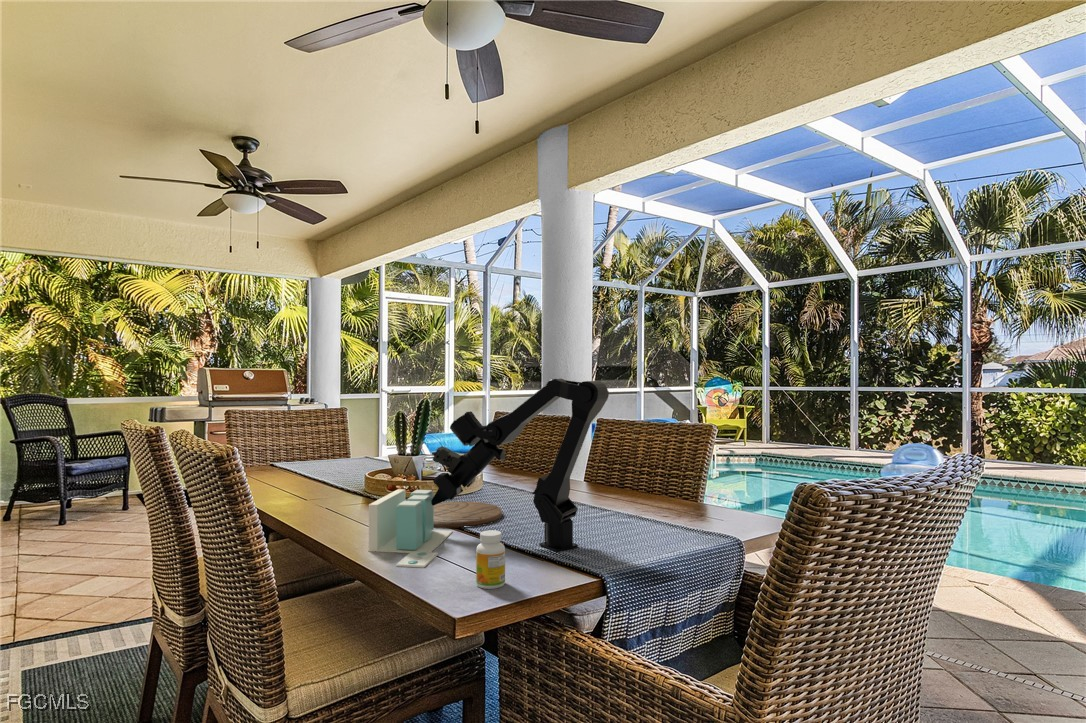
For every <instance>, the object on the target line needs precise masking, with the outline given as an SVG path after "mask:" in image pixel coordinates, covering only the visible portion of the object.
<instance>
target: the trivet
mask: <svg viewBox="0 0 1086 723" xmlns="http://www.w3.org/2000/svg"><path fill="white" fill-rule="evenodd" d="M502 513H503V511H502V509H501V507H499V506H498V505H495V504H492V503H487V502H481V501H443V502H441V503H438V504H436V505H434V529H460V528H459V527H464V526H475V527H479V526H478V525H481V526H484V525H483V524H486V525H489V524H492V523H491V522H493V523H495V522H497V521H499V520H500V519H501V518H502V517H503V516H502V515H503V514H502ZM501 516H502V517H501ZM498 519H499V520H498ZM496 520H497V521H496Z"/></svg>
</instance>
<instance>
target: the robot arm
mask: <svg viewBox="0 0 1086 723" xmlns="http://www.w3.org/2000/svg"><path fill="white" fill-rule="evenodd" d="M609 395H610V393H609V388H608V387H607V385H606V384H605V383H604V382H602V381H600V380H587V381H582V382H581V381H574V380H567V379H564V378H551V379H549V380H548V381H547V383H546V384H545V385H544V386H543V387H541V388H540V389H538V390H537V391H536V392H535V393H534V394H533V395H531V396H530V397H529V398H527V399H526V400H525V401H524V402H522V403H521V404H520V405H518V406H517V407H516V408H515V409H514V410H513V411H511V412H509V413H507V414H505V415H502V416H499V417H498V418H495V419H494V420H492V421H491V422H489V423H488V424H487V425H483V424H482V423H481V422H480V420H479V419H478V418H477V417H476V415H475V414H474V413H473V411H466V412H465V413H464V414H462V415H461V416H459V417H458V418H456V419H455V420H453V421H452V423H451V424H450V426H449V429H450V430H451V432H452V433H453V434H454V435H455V437H456V438H457V439H458V441H459V442H460V443H461V444H462V445H463V446H465V447H466V446H469V447H471V448H470V449H469V450H468V451H467V452H465V453H464V454H462V455H460V454H459V453H457V452H456V451H453V450H451V449H450V448H447V447H445V446H443V445H442V446H439V447H437V448H436V451H435V452H433V456H432V457H433V458H432V461H433V462H435V463H438V464H441V465H442V466H445V467H447V468H446V470H447V472H441V473H440V474H438V475H437V476H436V477H435V478H433V480H432V481H433V484H435V486H436V487H438V489H437V491H436V493H434V497H433V499H432V500H431V504H432V505H433V506H434V505H436V504H438V503H442V502H447V500H450V501H452V500H453V499H455V498H456V497H457V496H459V495H460V494H461V493H463V492H464V489H463V488H469V487H470V486H472V485H473V484H474V483H475V482H476V478H477V477H478V476H479V475H480V474H481V473H482V472H483V471H484V469H485V468H486V467H487V466H489V464H491V462H493V460H494V459H495V458H496V459H497V461H506V449H505V448H500V447H499V446H502V445H506V444H510V443H512V442H514V441H515V440H516V439H517V438H518V436H519V435H520V434H522V433H523V430H524V428H525V427H526V425H527V424H528V423H529V422H531V421H532V420H533V419H534V418H535V417H537V416H538V415H540V414H541V413H542V412H543V411H545V410H546V409H547V408H548V407H550V406H551V405H552V404H553V403H554V402H556V401H558V400H559V399H560V398H562V399H565V400H569V401H571V416H570V417H571V418H570V421H569V422H568V426H567V428H566V431H565V434H564V436H563V438H562V441H561V444H560V446H559V449H558V452H557V455H556V457H555V460H554V463H553V465H552V468H551V469H550V472H549V473H548V474H546V475H544V476H541V477H538V479H537V482H536V487H535V489H534V490H533V491H532V495H533V498H532V499H533V500H532V502H533V505H534V507H535V508H536V510H537V512H538V515H539V518H540V521H541V523H544V526H543V527H544V534H543V536H544V542H540V543H539V546H541V547H543V548H546V549H549V550H551V551H554V552H560V551H566V550H569V549H573V548H578V547H579V544H577V543H576V542H573V541H574V537H573V536H574V531H573V530H574V529H573V528H574V526H573V525H574V521H573V520H572V518H575V517H576V515H577V514H578V513H577V512H578V510H579V508H578V507H577V505H576V504H575V503H574V501H572V499H570V497H569V496H570V492H571V481H570V480H571V475H572V473H573V470H574V467H575V465H576V462H577V461H578V457H579V455H580V453H581V450H582V447H583V444H584V442H585V439H586V437H587V435H588V432H589V430H590V426H591V424H592V422H593V421H594V419H595V418H596V417H597V416H598V415H599V413H600V412H601V411H602V409H603V407H604V406H605V404H606V402H607V401H608V398H609Z"/></svg>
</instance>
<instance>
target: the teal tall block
mask: <svg viewBox="0 0 1086 723" xmlns="http://www.w3.org/2000/svg"><path fill="white" fill-rule="evenodd" d="M422 544H423V503H421V501H407V500H406V501H403V502H401V503H400V504H398V506H397V509H396V549H408V550H416V549H418V548H419V547H420V546H421V545H422Z"/></svg>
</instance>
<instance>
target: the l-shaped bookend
mask: <svg viewBox="0 0 1086 723" xmlns="http://www.w3.org/2000/svg"><path fill="white" fill-rule="evenodd" d="M406 493H407V492H406V489H401V488H399V489H396V490H394V491H392V492H390V493H388V494H386V495H384V496H382V497H381V498H378V499H377V500H375V501H372V502H371V503H369V504H368V552H375V551H376V552H378V553H381V552H382V553H400V554H402V553H404V554H405V553H407V554H409V553H410V552H428V553H433V551H434V550H435V549H436V548H438V546H440V545H441V544H442V543H443V542H444V541H445V540H446V539H447V538H448V537H449V536H451V534H452V533H453V532H454V531H453V530H435V529H434V530H432V531H431V537H430V538H429V539H428V540H427V541H426V542H423V544H422V545H421V546H420V547H419V548H418V549H416V550H408V549H396V509H397V506H398V504H400V503H401V502H403V501H407V500H406V496H407V495H406ZM376 552H375V553H376Z"/></svg>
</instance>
